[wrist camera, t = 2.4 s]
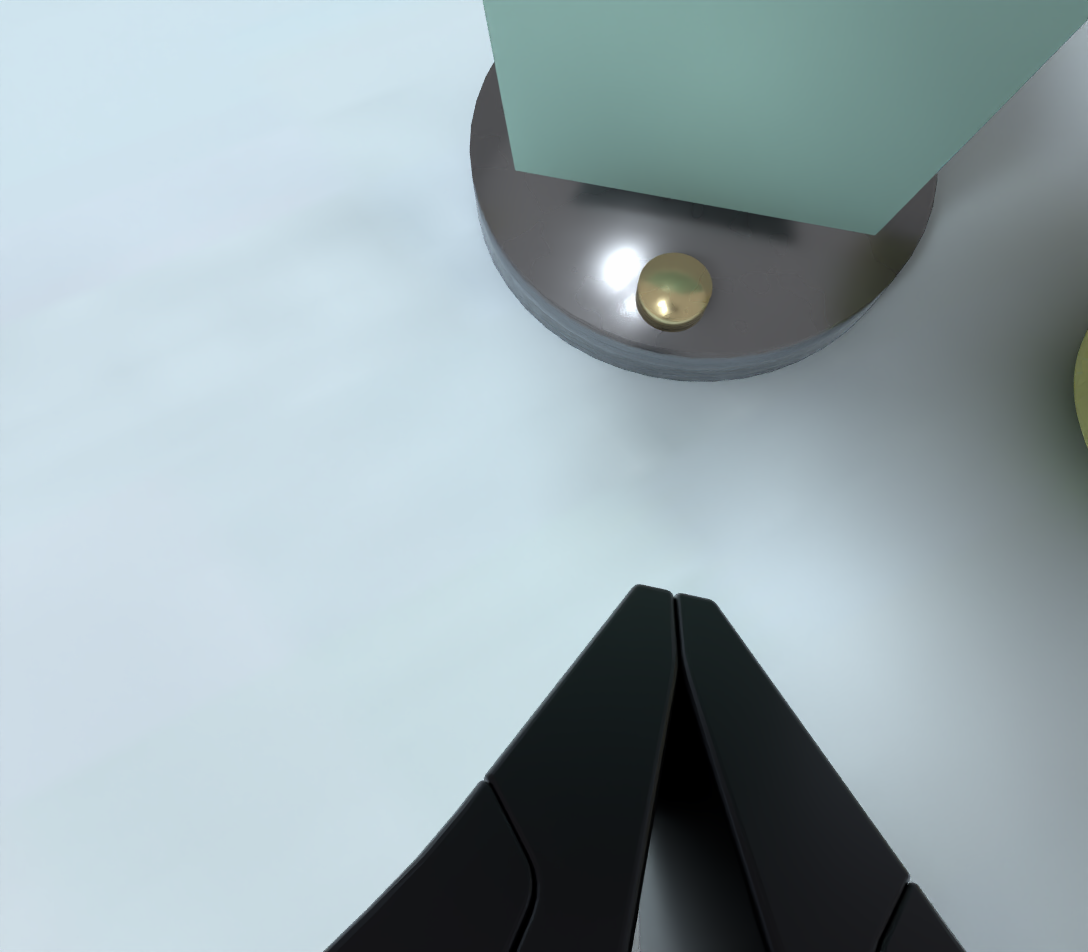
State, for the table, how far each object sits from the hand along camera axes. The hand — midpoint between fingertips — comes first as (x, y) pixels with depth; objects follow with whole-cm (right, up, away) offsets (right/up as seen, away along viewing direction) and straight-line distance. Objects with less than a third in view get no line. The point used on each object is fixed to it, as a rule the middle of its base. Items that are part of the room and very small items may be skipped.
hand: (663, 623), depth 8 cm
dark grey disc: (+3, +11, +16) cm, 20 cm away
